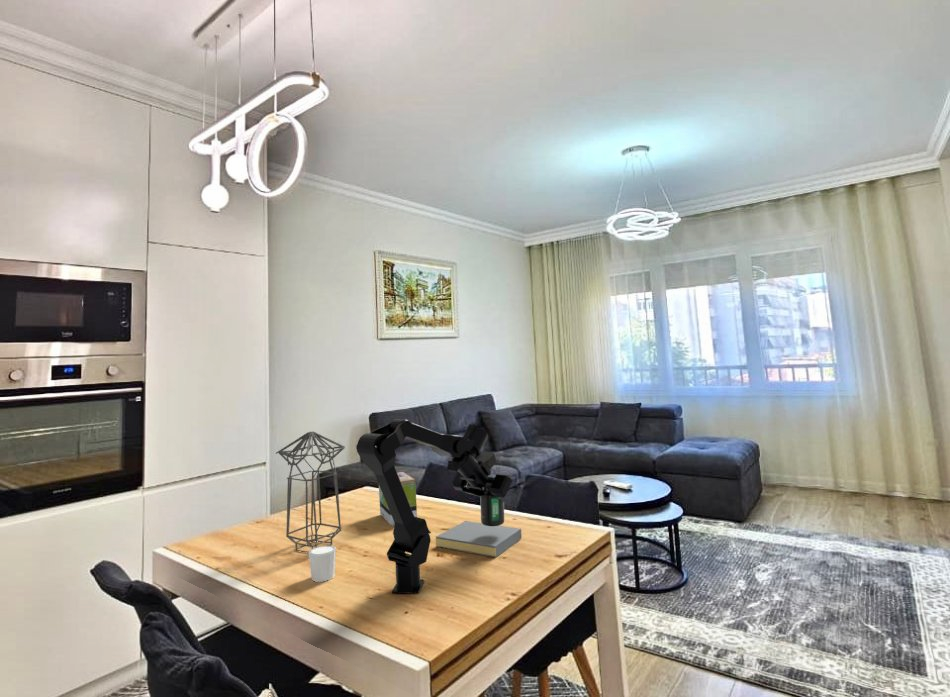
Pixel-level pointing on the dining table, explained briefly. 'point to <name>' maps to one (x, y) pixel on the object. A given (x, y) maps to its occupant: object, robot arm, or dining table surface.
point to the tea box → (410, 492)
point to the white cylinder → (322, 563)
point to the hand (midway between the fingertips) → (495, 498)
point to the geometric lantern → (297, 448)
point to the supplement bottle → (491, 509)
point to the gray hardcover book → (479, 538)
